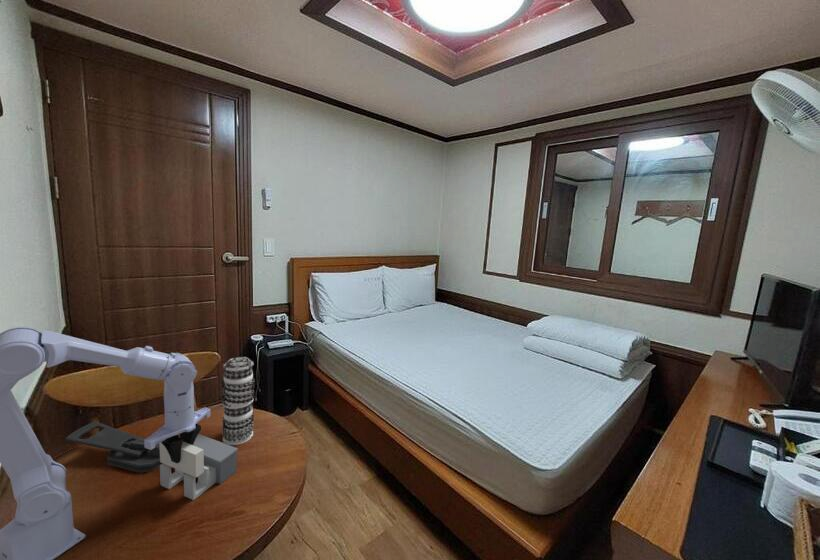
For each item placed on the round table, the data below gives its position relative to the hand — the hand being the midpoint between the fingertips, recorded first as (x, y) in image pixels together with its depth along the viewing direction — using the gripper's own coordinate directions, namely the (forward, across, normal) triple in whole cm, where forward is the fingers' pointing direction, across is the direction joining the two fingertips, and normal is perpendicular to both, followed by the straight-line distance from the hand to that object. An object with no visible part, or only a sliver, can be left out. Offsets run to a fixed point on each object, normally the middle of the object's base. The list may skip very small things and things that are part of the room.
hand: (181, 457), depth 79 cm
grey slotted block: (+9, +4, 0) cm, 10 cm away
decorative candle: (+9, +21, +4) cm, 23 cm away
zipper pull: (+9, +1, +24) cm, 26 cm away
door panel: (+2, 0, 0) cm, 2 cm away
